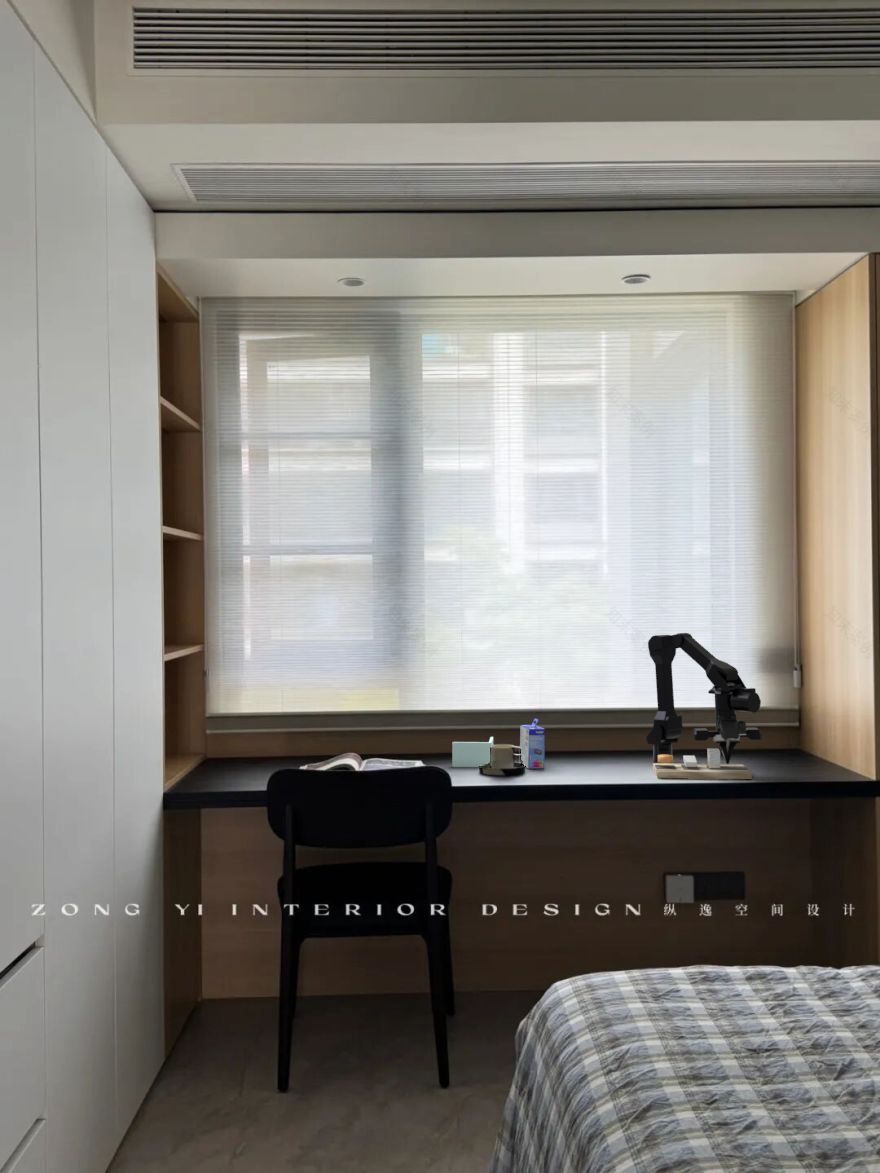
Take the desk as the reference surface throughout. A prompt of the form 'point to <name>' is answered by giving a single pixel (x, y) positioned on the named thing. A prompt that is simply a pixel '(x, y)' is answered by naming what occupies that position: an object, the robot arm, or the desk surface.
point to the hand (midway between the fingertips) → (727, 763)
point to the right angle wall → (471, 753)
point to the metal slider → (713, 758)
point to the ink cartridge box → (532, 745)
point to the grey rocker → (690, 761)
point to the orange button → (665, 758)
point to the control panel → (701, 771)
